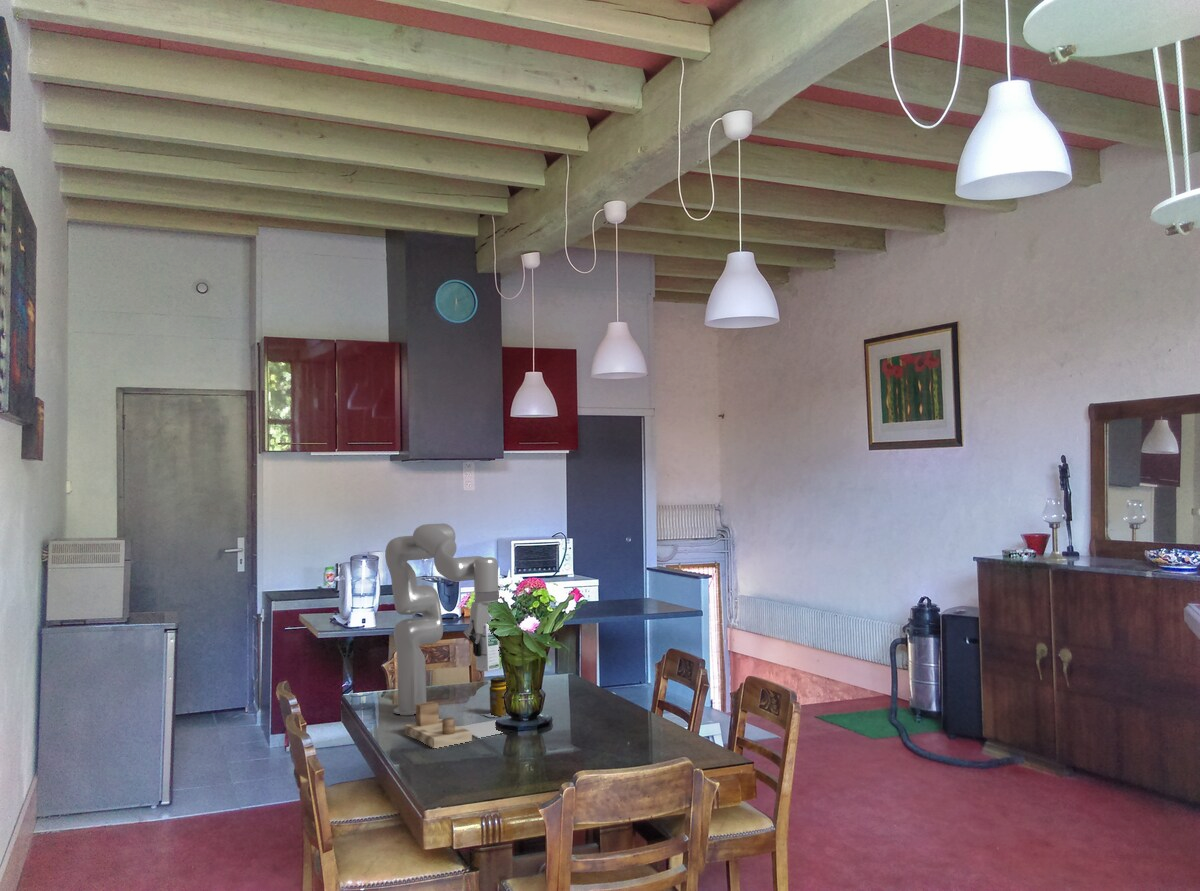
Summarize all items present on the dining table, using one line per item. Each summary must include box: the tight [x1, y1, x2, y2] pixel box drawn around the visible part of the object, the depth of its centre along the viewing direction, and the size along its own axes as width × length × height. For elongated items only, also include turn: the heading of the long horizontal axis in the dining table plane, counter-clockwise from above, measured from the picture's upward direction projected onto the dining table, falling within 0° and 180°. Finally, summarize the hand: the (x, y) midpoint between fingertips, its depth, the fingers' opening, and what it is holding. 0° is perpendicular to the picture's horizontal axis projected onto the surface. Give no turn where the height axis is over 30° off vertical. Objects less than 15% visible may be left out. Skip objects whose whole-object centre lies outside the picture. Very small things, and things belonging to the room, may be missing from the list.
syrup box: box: [475, 624, 502, 672], centre depth 294 cm, size 6×6×14 cm
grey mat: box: [459, 719, 503, 739], centre depth 292 cm, size 16×16×1 cm
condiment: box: [480, 676, 507, 717], centre depth 313 cm, size 7×8×12 cm
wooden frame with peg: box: [404, 701, 473, 749], centre depth 284 cm, size 22×12×9 cm, turn 33°
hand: (488, 654), depth 294 cm, fingers closed on syrup box, 6 cm apart
